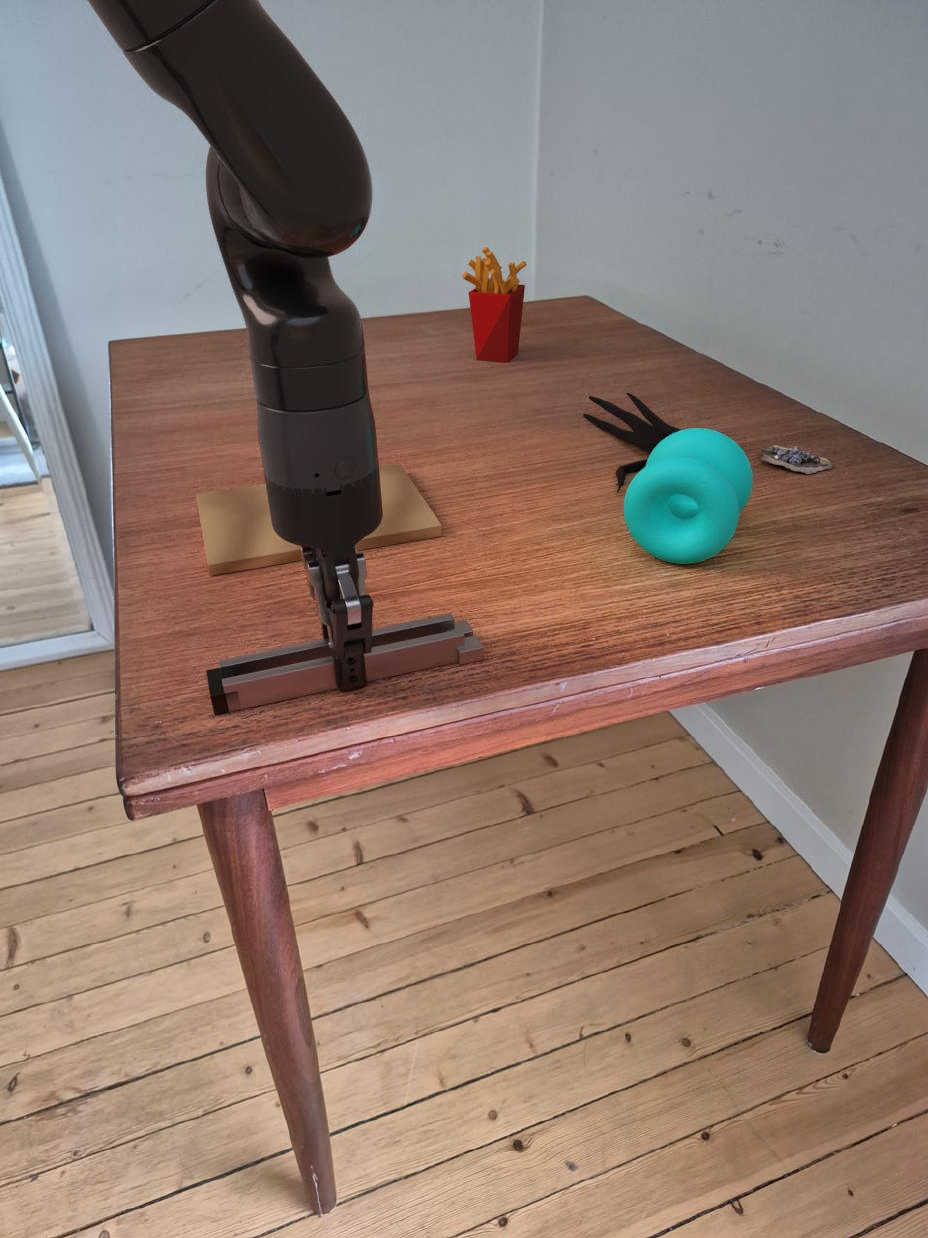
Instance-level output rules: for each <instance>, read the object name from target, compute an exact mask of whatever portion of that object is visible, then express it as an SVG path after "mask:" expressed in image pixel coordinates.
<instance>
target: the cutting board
mask: <svg viewBox="0 0 928 1238" xmlns="http://www.w3.org/2000/svg"><path fill="white" fill-rule="evenodd" d="M379 473H380V485H381V497H382V509H383V518H382V521H381V523H380V525H379V526H378V528H377V529H376V530H375V531H374V532H373V533H371V534H370V535H368V536H366V537H364V538H363V539H362V540H360V541H359V542H358V543H357V548H358V551H364V550H370V549H375V548H382V547H387V546H392V545H397V544H398V545H399V544H406V543H410V542H411V543H412V542H416V541H422V540H428V539H433V538H438V537H439V538H440V537H443V525H442V523H441V522H440V521H439V519H438V517H437V516H436V514H435V513H434V512H433V510H432V508H431V507H430V506H429V504H428V503H427V500H426V499H425V498H424V497H423V495H422V494H421V492H420V491H419V489H418V487H417V486H416V484H415V483H414V481H413V480H412V479H411V477H410V476H409V474H408V473H407V472H406V470H405V468H404V467H403V465H402V463H394V464H386V465H379ZM195 499H196V505H197V510H198V516H199V522H200V528H201V535H202V540H203V546H204V547H203V548H204V553H205V559H206V565H207V570H208V575H209V577H213V576H218V575H224V574H230V573H235V572H241V571H247V570H253V569H259V568H265V567H271V566H276V565H282V564H283V565H284V564H289V563H294V562H301V561H302V559H301V555H300V546H299V545H295V544H292V543H289V542H287V541H285V540H283V539H282V538H280V537H279V536H278V535H277V534H276V532H275V531H274V529H273V527H272V522H271V515H270V509H269V503H268V496H267V490H266V484H265V483H260V484H259V483H258V484H254V485H246V486H240V487H233V488H226V489H220V490H213V491H207V492H199V493H196V494H195Z"/></svg>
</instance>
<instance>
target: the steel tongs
mask: <svg viewBox="0 0 928 1238" xmlns="http://www.w3.org/2000/svg"><path fill="white" fill-rule="evenodd" d="M328 642H330V641H329V638H327V639H323V638H322V639H317V640H313V641H312V640H311V641H308V642H303V643H298V644H293V645H287V646H283V647H277V648H274V649H273V648H272V649H268V650H263V651H259V652H254V653H249V654H245V655H240V656H234V657H229V658H224V659H219V660H218V661H217V662H218V667H216V668H211V669H206V670H205V672H206V673H205V674H206V679H207V686H208V691H209V697H210V702H211V706H212V710H213V714H214V715H215V716H217V715H222V714H226V713H233V712H237V711H240V710H245V709H251V708H255V707H259V706H263V705H269V704H273V703H277V702H281V701H287V700H291V699H295V698H300V697H304V696H309V695H314V694H318V693H323V692H328V691H332V690H336V689H337V690H338V687H337V685H336V680H335V672H334V664H333V657H332V650H331V649H329V645H328ZM364 658H365V668H366V677H367V683H369V682H373V681H377V680H382V679H387V678H390V677H395V676H401V675H404V674H405V675H406V674H409V673H413V672H414V673H415V672H417V671H422V670H427V669H433V668H437V667H441V666H445V665H451V664H455V663H458V664H459V666H462V665H466V664H471V663H475V662H480V661H484V660H485V647H484V645H483V644H482V642H481V641H480V638H479V637H478V636H477V635H474V630H473V628H472V626H471V625H470V624H469V622H468V620H467V619H463V620H458V621H455V618H454V616H453V614H452V613H451V612H449V613H445V614H440V615H435V616H429V617H425V618H420V619H415V620H410V621H406V622H401V623H395V624H391V625H386V626H380V627H375V628H372V652H371V653H367V654H364Z"/></svg>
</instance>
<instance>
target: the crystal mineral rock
mask: <svg viewBox="0 0 928 1238" xmlns="http://www.w3.org/2000/svg"><path fill="white" fill-rule="evenodd" d="M759 450H760V451H759V452H758V454H761V455H762V456H760V457H759V459H760V460H761V461H762V462H767V463H768V464H772V465H778V466H782V467H785V469H789V470H790V471H794V472H796V473H797V472H801V473H804V474H805V475H810V474H814V473H815V474H816V473H818V472H821V471H822V472H823V471H825V470H830V469H833V468H834V464H832V462H831V461H830V460H828V459H827V458H825V457H821V456H817V455H815V454H812V455H811V453H810V452H809V451H808V450H803V451H802V450H800V448H799V447H797V446H795V447H791V446H787V445H781V444H779V445H778V444H775V445H770V446H767V447H762V448H761V447H760V448H759Z"/></svg>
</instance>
